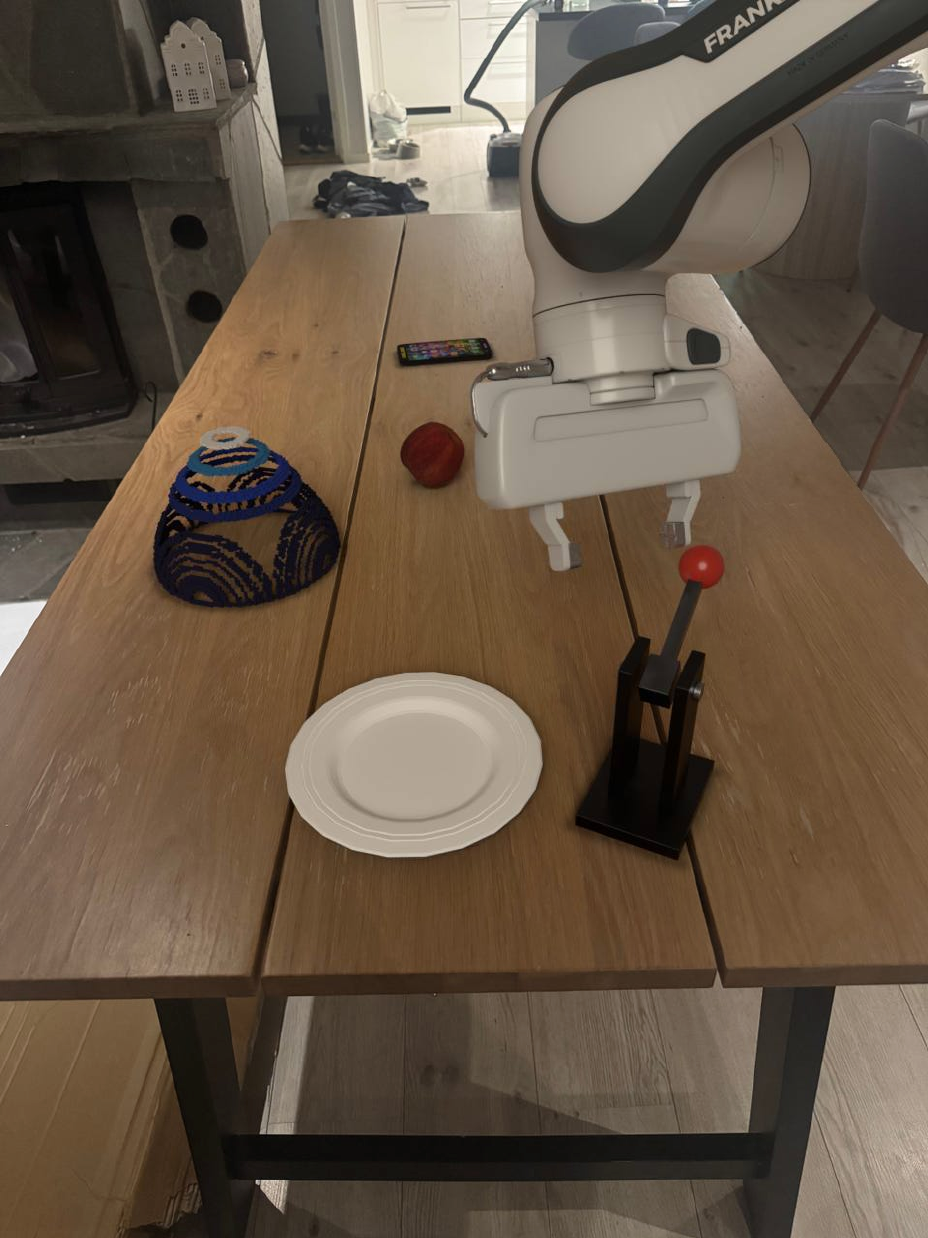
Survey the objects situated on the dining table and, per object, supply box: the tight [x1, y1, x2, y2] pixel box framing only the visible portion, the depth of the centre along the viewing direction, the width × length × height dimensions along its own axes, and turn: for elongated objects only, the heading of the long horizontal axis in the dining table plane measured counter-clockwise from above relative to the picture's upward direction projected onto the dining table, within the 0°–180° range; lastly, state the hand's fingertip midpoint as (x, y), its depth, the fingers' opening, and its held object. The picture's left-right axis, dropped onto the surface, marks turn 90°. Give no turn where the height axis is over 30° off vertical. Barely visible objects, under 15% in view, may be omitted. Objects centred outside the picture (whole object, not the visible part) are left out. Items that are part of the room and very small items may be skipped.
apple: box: [399, 421, 466, 488], centre depth 113 cm, size 7×8×8 cm
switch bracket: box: [575, 635, 716, 862], centre depth 69 cm, size 10×8×14 cm
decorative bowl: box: [152, 425, 342, 609], centre depth 99 cm, size 20×20×14 cm
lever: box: [638, 543, 726, 710], centre depth 68 cm, size 13×3×3 cm, turn 153°
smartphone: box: [396, 337, 493, 366], centre depth 150 cm, size 8×1×15 cm
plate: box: [284, 671, 544, 860], centre depth 76 cm, size 21×21×2 cm
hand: (622, 557), depth 64 cm, fingers open, 8 cm apart
